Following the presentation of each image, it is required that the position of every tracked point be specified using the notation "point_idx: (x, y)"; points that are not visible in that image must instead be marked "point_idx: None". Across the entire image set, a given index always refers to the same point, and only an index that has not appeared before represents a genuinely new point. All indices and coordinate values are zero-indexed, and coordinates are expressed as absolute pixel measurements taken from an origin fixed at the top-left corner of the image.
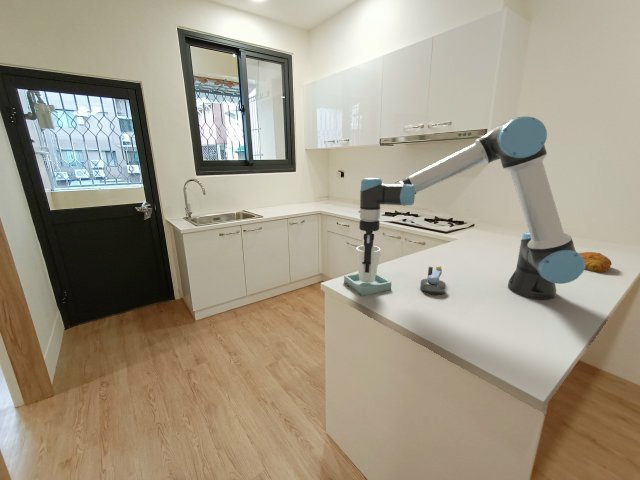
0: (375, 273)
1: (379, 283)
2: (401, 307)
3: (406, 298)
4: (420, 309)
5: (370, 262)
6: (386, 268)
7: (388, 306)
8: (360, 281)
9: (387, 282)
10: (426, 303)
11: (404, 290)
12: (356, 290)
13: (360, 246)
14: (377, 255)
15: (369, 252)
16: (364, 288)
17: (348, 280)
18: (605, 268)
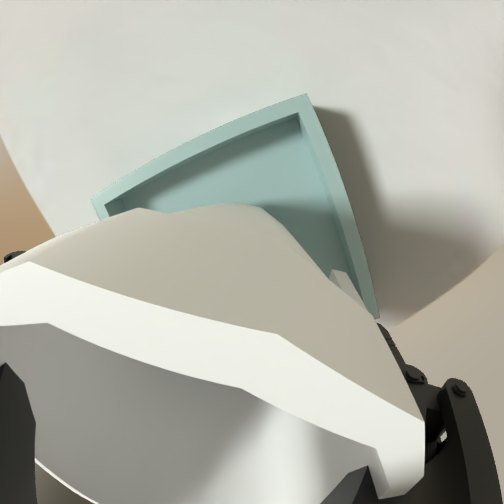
0: (276, 223)
1: (233, 162)
2: (484, 139)
3: (412, 69)
4: (490, 74)
5: (472, 396)
6: (23, 105)
7: (475, 192)
8: None
9: (309, 123)
10: (445, 20)
11: (315, 36)
12: None
13: (78, 488)
14: (384, 343)
15: (484, 497)
16: (374, 298)
17: None
18: None
